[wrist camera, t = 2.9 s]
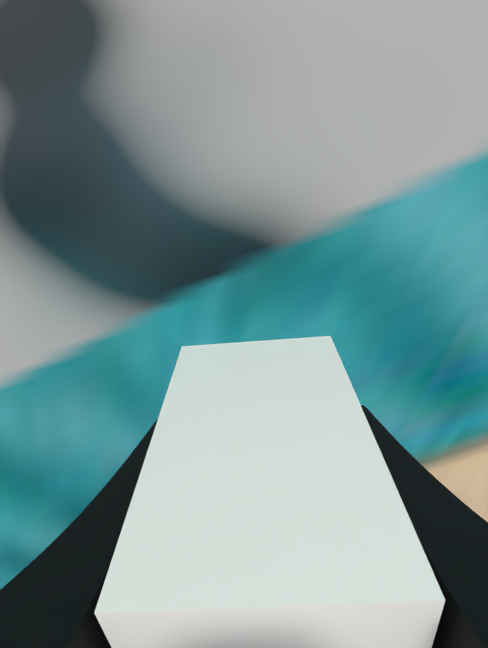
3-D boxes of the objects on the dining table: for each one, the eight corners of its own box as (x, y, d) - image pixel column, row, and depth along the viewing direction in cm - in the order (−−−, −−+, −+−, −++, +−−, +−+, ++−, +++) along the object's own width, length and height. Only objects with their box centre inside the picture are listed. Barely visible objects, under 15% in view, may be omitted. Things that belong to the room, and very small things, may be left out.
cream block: (330, 336, 11) (445, 600, 5) (327, 447, 13) (405, 739, 6) (182, 346, 11) (94, 612, 5) (202, 454, 13) (159, 743, 7)
